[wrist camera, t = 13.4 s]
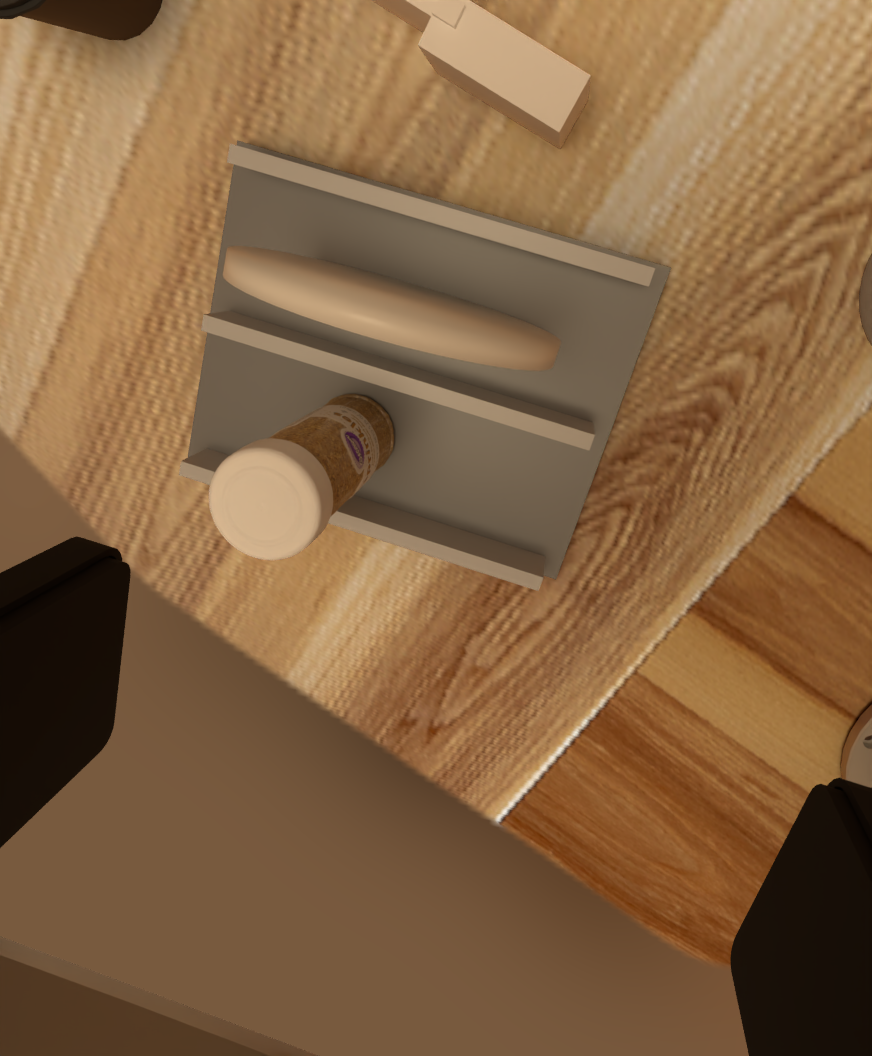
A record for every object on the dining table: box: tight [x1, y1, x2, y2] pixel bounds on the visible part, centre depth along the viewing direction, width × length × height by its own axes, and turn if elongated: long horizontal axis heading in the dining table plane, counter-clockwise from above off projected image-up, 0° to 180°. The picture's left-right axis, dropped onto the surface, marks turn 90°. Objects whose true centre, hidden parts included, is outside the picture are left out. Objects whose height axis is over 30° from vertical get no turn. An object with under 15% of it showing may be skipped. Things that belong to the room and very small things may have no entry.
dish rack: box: [179, 140, 671, 591], centre depth 33 cm, size 22×17×15 cm
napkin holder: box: [372, 0, 591, 149], centre depth 33 cm, size 15×11×6 cm
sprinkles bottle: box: [209, 394, 394, 560], centre depth 35 cm, size 5×5×13 cm
